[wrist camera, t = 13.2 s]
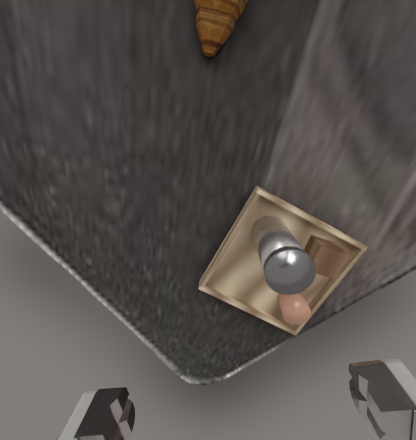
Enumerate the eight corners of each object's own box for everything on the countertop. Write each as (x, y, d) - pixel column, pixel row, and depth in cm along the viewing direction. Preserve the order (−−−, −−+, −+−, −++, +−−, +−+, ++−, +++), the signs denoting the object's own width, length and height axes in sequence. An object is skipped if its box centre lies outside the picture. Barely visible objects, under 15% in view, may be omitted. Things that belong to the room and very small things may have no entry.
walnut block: (299, 257, 38) (308, 270, 34) (311, 234, 37) (321, 245, 33) (324, 265, 38) (335, 279, 34) (336, 242, 37) (349, 254, 33)
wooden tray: (200, 273, 43) (198, 288, 39) (254, 183, 38) (258, 188, 33) (288, 316, 45) (295, 335, 41) (351, 236, 39) (367, 247, 35)
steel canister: (244, 237, 37) (255, 281, 26) (262, 208, 36) (282, 241, 24) (274, 253, 38) (297, 302, 26) (293, 224, 36) (326, 264, 25)
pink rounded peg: (272, 300, 40) (277, 317, 37) (286, 282, 39) (293, 297, 35) (293, 311, 41) (300, 328, 37) (307, 293, 40) (316, 309, 36)
